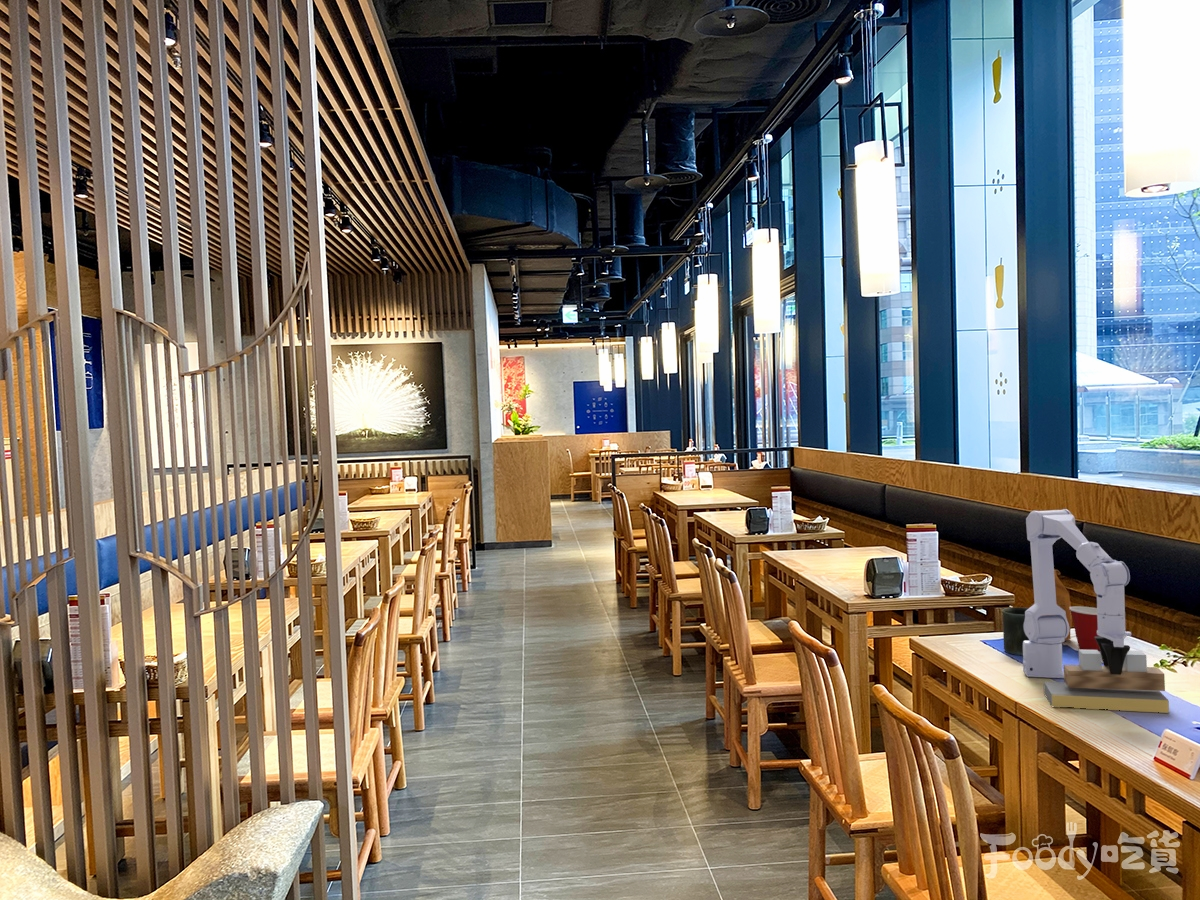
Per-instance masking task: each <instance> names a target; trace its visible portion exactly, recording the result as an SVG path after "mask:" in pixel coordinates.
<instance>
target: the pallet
mask: <svg viewBox="0 0 1200 900" xmlns="http://www.w3.org/2000/svg"><path fill="white" fill-rule="evenodd" d="M1063 672H1064V678H1063V682H1064V683H1066V685H1067V686H1068V688H1095V689H1122V690H1150V691H1160V692H1166V683H1165V682H1166V681H1165V680H1166V679H1165V673H1164V672H1163V671H1162V670H1161V669H1160V668H1159V667H1158V668H1156V667H1155V666H1153V667H1150V666H1149V667H1148V666H1147V672H1127V671H1126V670H1125V669H1124V668H1123V669H1122V673H1121V675H1117V674H1111V673H1110V671H1109V666H1104V665H1102V671H1091V670H1082V669H1081V667H1080V666H1079V664H1063Z"/></svg>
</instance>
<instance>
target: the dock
mask: <svg viewBox="0 0 1200 900" xmlns="http://www.w3.org/2000/svg"><path fill="white" fill-rule="evenodd" d="M1043 689H1044V691H1043V693H1045V694H1044V695H1046V696H1047V697H1046V696H1045V697H1046V699H1047V698H1048V699H1047V700H1049V701H1048V703H1049V702H1050V703H1051V704H1050V703H1049V704H1050V706H1051V705H1052V706H1056V707H1055V708H1060V707H1074V708H1073V709H1080V708H1086V709H1085V710H1099V709H1105V710H1106V709H1108V710H1107V711H1119V710H1120V711H1121V712H1123V711H1124V712H1141V713H1142V712H1144V713H1158V712H1159V713H1162V714H1170V703H1169V702H1170V701H1169V699H1168V698H1167V697H1166V696H1165V695H1164V694H1163V693H1162V691H1150V690H1122V689H1095V688H1068V686H1067V685H1066V683H1065V682H1064V681H1063V682H1062V681H1061V682H1060V681H1059V682H1058V681H1044V682H1043ZM1052 706H1051V707H1052ZM1105 710H1104V711H1105Z"/></svg>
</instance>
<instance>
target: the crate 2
mask: <svg viewBox="0 0 1200 900" xmlns="http://www.w3.org/2000/svg"><path fill="white" fill-rule="evenodd" d="M1147 661H1148V660H1147V654H1146V653H1145V652H1143V651H1142V650H1129V651H1128V653H1127V655H1126V657H1125V660H1124V664H1123V668H1124V669H1125V670H1126V671H1127V672H1147V667H1148V665H1147Z"/></svg>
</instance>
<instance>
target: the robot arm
mask: <svg viewBox="0 0 1200 900" xmlns="http://www.w3.org/2000/svg"><path fill="white" fill-rule="evenodd" d="M1025 524H1026V538H1027V541H1029V542H1030V543H1029V544H1030V556H1031V558H1030V559H1031V571H1032V573H1031V574H1032V585H1033V599H1034V600H1033V601H1034V603H1033V604H1032V605H1031V606H1030V607H1028V608H1029V609H1027V610H1026V611H1025V621H1024V632H1025V634H1026V636H1027V637H1028V638H1029V640H1027V641H1023V655H1022V670H1023V672H1024V673H1025V675H1026V677H1028V678H1045V679H1046V678H1049V679H1050V678H1051V679H1064V666H1063V665H1064V664H1063V643H1064V642H1065V641H1066V640H1065V638H1066V637H1067V636H1068V634H1069V623H1068V621H1067V618H1066V612H1065V611H1064V610H1063V609H1062V608H1060V607H1059V606H1058V605H1057V604H1056V591H1055V577H1054V569H1055V568H1054V567H1055V565H1054V554H1053V551H1054V550H1053V545H1054V543H1056V541H1058V540H1060V539H1061V538H1062V539H1063V540H1064V541H1065V542H1067V544H1069V545H1070V546H1071V547H1072V548H1073V549H1074V550H1076V552H1075V555H1076V558H1077V560H1079V562H1080V563H1081V564H1082V565H1083V567H1085V568H1086V569H1087V571H1088V572H1089V576H1090V580H1091V582H1092V584H1093V591H1094V594H1096V608H1097V622H1098V630H1097V635H1099V636H1095V637H1094V638H1095V640H1096V641H1097V643H1098V646H1099V648H1100V651H1099V652H1100V653H1101V661H1102V663H1103V666H1109V671H1110V673H1111V674H1117V675H1121V673H1122V669H1123V664H1124V660H1125V657H1126V655H1127V653H1128V651H1131V650H1130V649H1131V646H1130V645H1126V644H1125V639H1126V638H1127V637H1131V636H1132V631H1126V611H1125V610H1126V609H1125V608H1126V605H1125V604H1126V602H1125V599H1126V598H1125V597H1126V596H1125V587H1126V586H1127V585H1128V584H1129V582H1130V581H1131V575H1130V569H1129V567H1128V566H1127V565H1126V563H1125V562H1124V561H1122V560H1120V561H1118V560H1116V559H1113V558H1112V557H1111V556H1109V554H1108V553H1107V552H1106V551H1105V550H1104V548H1102V547H1101V546H1100V544H1099V543H1098V542H1094V541H1089V540H1088V539H1087V538H1086V536H1085V535H1084V534H1083V533H1082V532H1081V531H1080V529H1079V528H1078V526H1077V525H1076V517H1075V516H1074V515H1073V514H1072V513H1071V511H1070V510H1068V509H1067V508H1063V509H1052V510H1032V511H1030V513H1029V514H1028V515H1027V517H1026V518H1025ZM1043 615H1053V616H1043Z"/></svg>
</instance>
